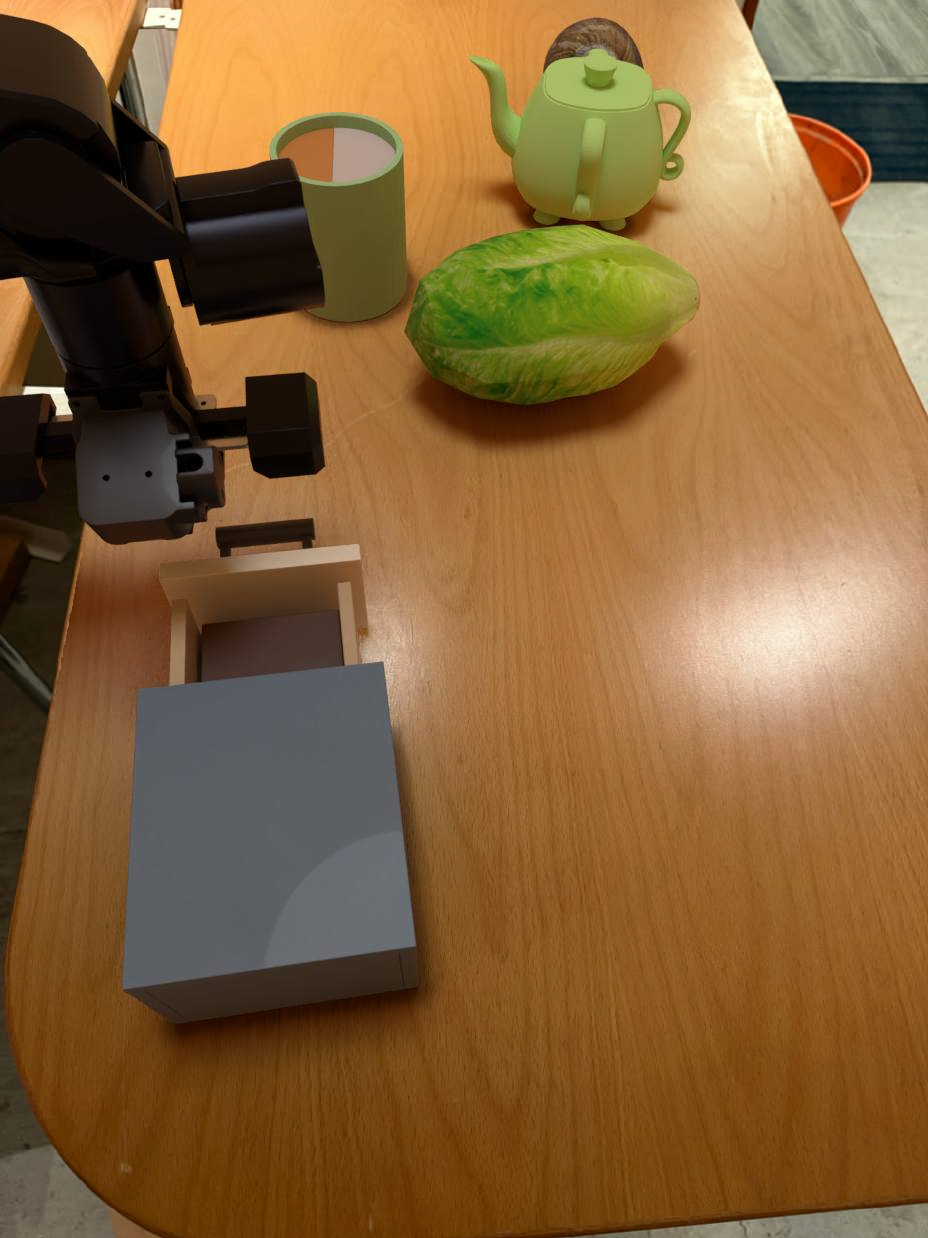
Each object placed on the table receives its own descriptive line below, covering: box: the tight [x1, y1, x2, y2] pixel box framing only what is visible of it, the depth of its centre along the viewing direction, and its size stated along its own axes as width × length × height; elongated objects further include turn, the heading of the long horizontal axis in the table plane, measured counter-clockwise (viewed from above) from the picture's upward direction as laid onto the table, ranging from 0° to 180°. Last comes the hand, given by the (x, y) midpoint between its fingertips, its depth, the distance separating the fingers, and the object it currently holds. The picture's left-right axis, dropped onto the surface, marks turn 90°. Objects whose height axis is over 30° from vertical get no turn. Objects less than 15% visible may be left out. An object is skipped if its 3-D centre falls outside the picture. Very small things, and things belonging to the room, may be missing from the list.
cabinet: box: [121, 660, 420, 1025], centre depth 46 cm, size 15×13×9 cm
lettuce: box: [404, 224, 701, 406], centre depth 67 cm, size 13×23×12 cm, turn 103°
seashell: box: [542, 16, 645, 74], centre depth 91 cm, size 11×9×8 cm
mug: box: [268, 111, 408, 323], centre depth 73 cm, size 13×10×12 cm
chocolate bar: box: [201, 610, 344, 682], centre depth 53 cm, size 4×8×4 cm, turn 98°
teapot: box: [468, 49, 692, 231], centre depth 80 cm, size 16×14×13 cm
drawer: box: [158, 517, 369, 686], centre depth 52 cm, size 18×11×7 cm, turn 9°
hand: (186, 529), depth 57 cm, fingers closed
